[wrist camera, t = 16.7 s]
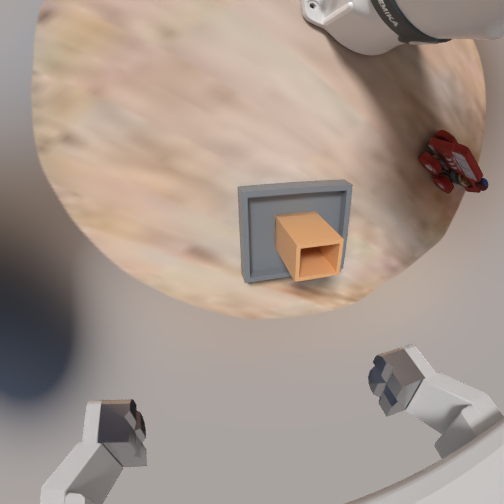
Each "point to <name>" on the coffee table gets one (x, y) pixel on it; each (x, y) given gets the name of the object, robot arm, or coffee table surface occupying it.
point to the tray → (279, 203)
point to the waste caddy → (308, 245)
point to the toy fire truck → (452, 165)
